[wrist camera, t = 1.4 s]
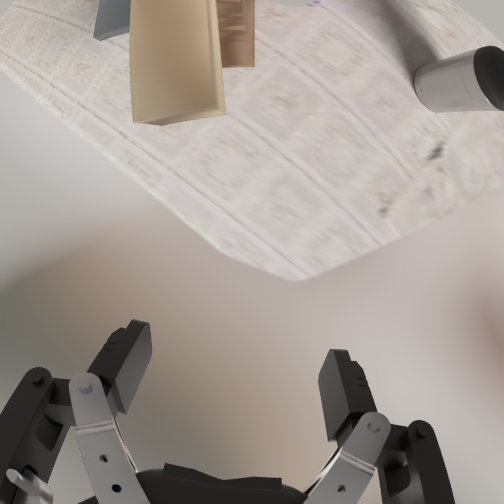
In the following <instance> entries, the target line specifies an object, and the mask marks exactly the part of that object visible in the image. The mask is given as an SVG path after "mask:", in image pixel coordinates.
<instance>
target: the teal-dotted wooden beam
mask: <svg viewBox="0 0 504 504" xmlns="http://www.w3.org/2000/svg"><path fill="white" fill-rule="evenodd" d="M130 87H131V104H132V117H133V123H143V124H152V125H160V126H163V125H168V124H173V123H178V122H183V121H189V120H195V119H202V118H208V117H216V116H223V115H226V108H225V97H224V86H223V75H222V63H221V52H220V40H219V28H218V15H217V2H216V0H131V11H130Z"/></svg>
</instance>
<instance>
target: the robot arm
mask: <svg viewBox="0 0 504 504" xmlns="http://www.w3.org/2000/svg"><path fill="white" fill-rule="evenodd" d="M414 86H415V90H416V93H417V95H418V97H419V99H420V101H421V102H422V103H423V104H424V105H425V106H426V107H427V108H428V109H430V110H431V111H434V112H438V113H442V112H459V111H504V51H503V50H501V49H500V48H498V47H495V46H486V47H482V48H479V49H475V50H472V51H468V52H465V53H462V54H459V55H455V56H452V57H449V58H446V59H443V60H440V61H438V62H435V63H432V64H429V65H426V66H424V67H421V68H419V69H418V70H417V72H416V74H415V77H414ZM151 355H152V342H151V332H150V324H149V323H148V322H144V321H139V320H135V319H133V320H131V322H130V323H129V325H128V326H127V328H126V329H125V328H119V329H118V330H116V331H115V332H113V333H112V334H111V336H110V337H109V338H108V340H107V343H105V344H104V346H103V349H101V351H100V352H99V353H98V355H97V357H96V358H95V360H94V361H93V363H92V364H91V366H90V367H89V369H88V371H87V372H84V373H79V374H77V375H75V376H74V377H73V378H72V379H71V380H68V379H58V378H52V376H51V374H50V372H49V371H48V370H47V369H45V368H42V367H36V368H33V369H31V370H29V371H28V372H27V373H26V374H25V376H24V377H23V379H22V380H21V382H20V383H19V385H18V386H17V388H16V390H15V391H14V393H13V394H12V396H11V397H10V399H9V401H8V402H7V404H6V406H5V407H4V409H3V411H2V413H1V414H0V504H53V494H52V491H51V489H50V487H49V486H48V485H47V483H48V480H49V478H50V475H51V472H52V470H53V467H54V464H55V461H56V459H57V456H58V454H59V451H60V449H61V446H62V444H63V442H64V439H65V437H66V434H67V432H68V430H69V428H70V426H77V430H75V435H76V439H77V442H78V446H79V449H80V453H81V456H82V460H83V462H84V466H85V469H86V471H87V474H88V477H89V480H90V483H91V485H92V488H93V490H94V493H95V496H93V497H91V498H89V499H87V500H85V501H82V502H80V503H78V504H357V502H358V500H359V499H360V497H361V495H362V494H363V492H364V490H365V489H366V487H367V485H368V484H369V482H370V480H371V478H372V476H373V474H374V472H375V469H374V468H373V467H377V469H378V475H379V481H380V488H381V495H382V503H383V504H455V501H454V497H453V492H452V488H451V485H450V481H449V478H448V474H447V470H446V467H445V463H444V460H443V457H442V454H441V450H440V447H439V444H438V441H437V438H436V435H435V433H434V430H433V428H432V426H431V425H430V424H429V423H427V422H425V421H422V420H416V421H413V422H412V423H411V424H410V425H409V426H408V427H406V426H399V425H394V424H390V422H389V420H388V419H387V418H386V417H385V416H384V415H383V414H381V413H378V412H377V409H376V406H375V403H374V400H373V397H372V394H371V391H370V388H369V387H368V382H367V380H366V376H365V374H364V371H363V369H362V367H361V366H360V365H359V364H358V363H357V362H356V361H351V359H350V356H349V353H348V351H347V350H340V349H330V350H329V352H328V354H327V357H326V359H325V361H324V364H323V366H322V368H321V370H320V373H319V379H318V384H319V390H320V395H321V401H322V407H323V413H324V419H325V424H326V430H327V437H328V442H337V445H338V447H337V448H336V449H335V451H334V452H333V454H332V455H331V457H330V458H329V459H328V461H327V462H326V464H325V465H324V466H323V468H322V469H321V470H320V472H319V473H318V474H317V476H316V477H315V478H314V479H313V480H312V481H311V483H310V484H309V485H308V486H307V487H306V488H305V489H304V490H303V492H301V491H299V490H297V489H295V488H293V487H290V486H287V485H284V484H282V481H281V478H267V477H247V478H239V479H230V480H221V479H218V478H215V477H212V476H209V475H207V474H204V473H202V472H199V471H197V470H194V469H191V468H186V467H181V466H176V465H172V464H167V463H165V466H164V469H150V470H145V471H141V472H138V470H137V468H136V466H135V464H134V462H133V460H132V458H131V455H130V453H129V451H128V449H127V447H126V444H125V442H124V439H123V437H122V434H121V432H120V429H119V427H118V424H117V421H116V419H115V418H116V416H117V414H118V412H121V413H124V414H127V411H128V409H129V407H130V404H131V402H132V400H133V397H134V395H135V393H136V391H137V388H138V386H139V384H140V381H141V379H142V377H143V375H144V373H145V370H146V368H147V366H148V364H149V361H150V359H151Z"/></svg>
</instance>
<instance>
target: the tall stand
mask: <svg viewBox="0 0 504 504" xmlns="http://www.w3.org/2000/svg"><path fill="white" fill-rule="evenodd" d="M216 2H217V15H218V28H219V40H220V52H221V63H222V68H229V67H255V54H254V0H216Z"/></svg>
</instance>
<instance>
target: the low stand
mask: <svg viewBox="0 0 504 504" xmlns="http://www.w3.org/2000/svg"><path fill="white" fill-rule="evenodd" d="M130 11H131V0H100V4H99V9H98V14H97V19H96V25H95V30H94V38H96V39H98V40H100V41H102V40H105V39H108V38H111V37H114V36H117V35H120V34H124V33H127V32H130Z"/></svg>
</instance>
